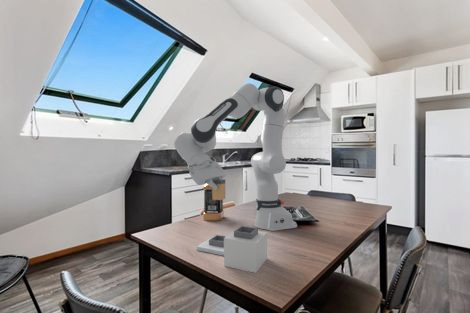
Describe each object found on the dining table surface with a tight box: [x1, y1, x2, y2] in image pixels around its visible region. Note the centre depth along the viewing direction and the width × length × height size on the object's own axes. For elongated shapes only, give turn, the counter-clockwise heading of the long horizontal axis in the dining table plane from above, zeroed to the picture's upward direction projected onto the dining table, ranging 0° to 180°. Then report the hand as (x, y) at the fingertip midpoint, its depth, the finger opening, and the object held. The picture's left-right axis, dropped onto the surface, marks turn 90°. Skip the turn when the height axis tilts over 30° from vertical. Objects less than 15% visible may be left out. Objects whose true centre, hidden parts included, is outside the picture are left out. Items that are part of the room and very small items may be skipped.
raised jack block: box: [223, 225, 268, 274], centre depth 93 cm, size 12×12×12 cm
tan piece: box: [212, 178, 226, 200], centre depth 107 cm, size 4×4×8 cm
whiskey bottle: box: [202, 183, 225, 222], centre depth 150 cm, size 10×10×32 cm
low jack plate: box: [196, 234, 227, 257], centre depth 108 cm, size 14×14×4 cm
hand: (220, 188), depth 107 cm, fingers closed on tan piece, 4 cm apart
